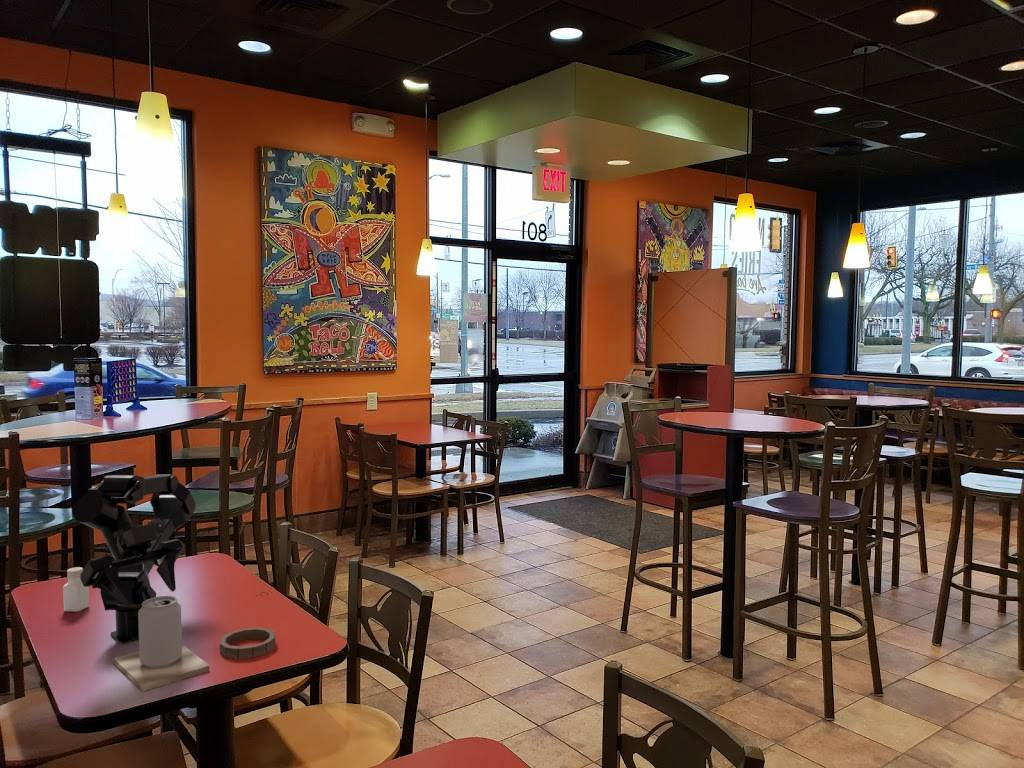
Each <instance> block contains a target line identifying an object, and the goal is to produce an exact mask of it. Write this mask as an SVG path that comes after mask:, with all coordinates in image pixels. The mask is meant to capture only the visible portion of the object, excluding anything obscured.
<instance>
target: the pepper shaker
mask: <svg viewBox="0 0 1024 768" xmlns="http://www.w3.org/2000/svg"><path fill="white" fill-rule="evenodd" d="M83 570H84V568H83V567H80V566H76V567H71V568H68V569H67V570H66V575H67V577H66V578H67V583H65V584H64V585H63V586H62V596H63V597H62V598H63V599H62V600H63V610H64V612H75V613H77V612H78V613H79V612H81V611H83V610H85V609H86V608H89V606H90V595H89V593H90V592H89V590H90V589H89V586H88V587H85V586H83V584H82V581H81V579H80V575H81V573H82V571H83Z"/></svg>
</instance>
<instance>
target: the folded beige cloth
mask: <svg viewBox="0 0 1024 768" xmlns="http://www.w3.org/2000/svg"><path fill="white" fill-rule="evenodd" d="M113 663H114V665H115V666H116V667H117V668H118V669H119V670H120V671H121V672H122V673H123V674H124V675H125V676H126V677H127V678H128V679H129V680H130V681H131V682H132V683H133V684H134V685H135V686H136V687H138V689H140V691H142V692H145V691H147V692H148V691H149V690H153V689H156V688H159V687H161V686H165V685H168V684H172V683H175V682H178V681H181V680H185V679H187V678H190V677H193V676H197V675H200V674H203V673H206V672H209V671H210V665H209V664H208V663H207V662H206V661H204V660H203V659H201V658H200V657H199V656H198V655H196V654H195V653H194V652H192V651H191V650H190V649H188V648H187V647H186V646H185V645H183V644H182V656H181V657H180V658H179V659H178V660H177V661H176V662H175V663H174V664H171V665H169V666H166V667H161V668H148V667H146V666H145V665H143V664H142V663H140V657H139V651H136V652H132V653H129V654H125V655H121V656H118V657H114V658H113Z"/></svg>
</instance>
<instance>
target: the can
mask: <svg viewBox="0 0 1024 768" xmlns="http://www.w3.org/2000/svg"><path fill="white" fill-rule="evenodd" d="M138 622H139V639H138V647H139V649H138V652H139V657H140V663H142V664H143V665H145V666H146V667H148V668H161V667H166V666H169V665H171V664H174V663H175V662H176V661H177V660H178V659H179V658H180V657H181V656H182V645H183V638H182V637H183V635H182V634H183V632H182V631H183V629H182V605H181V603H179V602H178V598H177V597H175V596H171V595H161V596H160V595H159V596H156V597H154V598H150V599H147V600H145V601H144V602H143V603H142V608H141V609H140V610H139V611H138Z"/></svg>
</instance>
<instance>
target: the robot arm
mask: <svg viewBox="0 0 1024 768" xmlns="http://www.w3.org/2000/svg"><path fill="white" fill-rule="evenodd" d="M87 489H88V490H87V492H86V494H84V495H82V496H81V497H80V498H78V499H77V500H76V501H75V503H74V504H73V506H72V510H71V511H72V516H73V518H74V519H75V521H77V522H79V523H80V524H83V525H85V526H88V527H89V528H92V529H93V530H98V531H100V532H101V535H102V537H103V540H104V541H105V543H106V545H105V546H104V549H105V551H106V553H107V552H110V553H111V555H112V556H111V555H108V554H106V555H102V556H98V557H93V558H89V559H88V561H87V563H86V565H85V566H84V568H83V571H82V573H81V575H80V579H81V581H82V584H83V586H85V587H88V588H89V587H91V588H92V589H99V590H100V597H101V600H102V605H103V608H104V610H105V611H115V630H114V631H111V632H110V637H112V638H113V639H114V640H115V641H116V642H117V643H119V644H123V643H124V644H125V643H127V642H131V641H135V640H139V622H138V611H139V610H140V609H141V608H142V603H143V602H144V601H145V600H147V599H150V598H154V597H157V591H155V590H154V588H153V587H152V586H151V581H150V577H149V574H150V572H151V571H152V569H153V567H154V566H156V567H157V568H156V572H157V573H158V575H159V577H160V578H161V580H162V581H163V582H164V584H165V585H166V587H167V588H168V589H169V590H170V592H175V591H176V589H177V587H176V576H175V575H176V574H175V563H176V561H177V560H178V558H179V557H180V555H181V554H182V553H183V551H184V550H185V548H186V547H185V546H184V545H185V544H183V542H182V541H181V540H180V539H178V538H174V539H170V538H171V536H172V534H173V533H174V531H175V529H178V528H180V527H181V526H183V525H185V524H186V523H187V522H188V521H189V520H190V518H191V517H192V516H193V515H194V513H195V510H196V500H195V498H194V497H193V494H192V492H191V490H190V489H189V488H188V487H186V486H185V485H183V484H182V483H181V482H180V481H179V479H178V477H177V475H174V474H172V473H171V474H170V473H169V474H166V473H165V474H163V473H162V474H161V473H160V474H159V473H157V474H155V475H150V476H143V475H141V476H140V475H137V474H135V475H134V474H130V475H129V474H108V475H104V477H103V479H102V481H101V482H100V483H99V484H98V485H97V486H96V487H95V488H87ZM168 492H169V493H170V494H161V493H168ZM148 495H151V498H150V501H149V503H150V505H151V507H152V512H153V516H154V519H152V520H151V521H148V522H147V524H144V525H143V524H141V525H136V526H135V525H134V523H133V521H132V519H131V517H130V516H129V513H128V511H127V509H126V508H125V506H123V505H120V504H125V505H126V504H136V503H138V502H139V501H141V500H144V497H145V496H148ZM169 539H170V540H169ZM113 559H114V560H113Z"/></svg>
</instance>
